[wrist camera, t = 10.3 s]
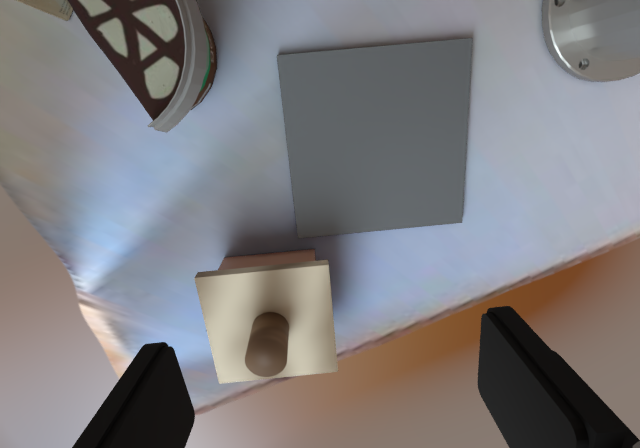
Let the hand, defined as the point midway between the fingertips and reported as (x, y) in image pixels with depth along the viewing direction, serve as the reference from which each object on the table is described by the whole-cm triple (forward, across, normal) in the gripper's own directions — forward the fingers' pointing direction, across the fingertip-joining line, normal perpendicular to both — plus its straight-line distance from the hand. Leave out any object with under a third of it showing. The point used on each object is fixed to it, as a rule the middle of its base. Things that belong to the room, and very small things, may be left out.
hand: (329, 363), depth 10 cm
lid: (+18, +6, +11) cm, 21 cm away
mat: (+23, -6, -3) cm, 24 cm away
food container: (+23, +9, -13) cm, 28 cm away
